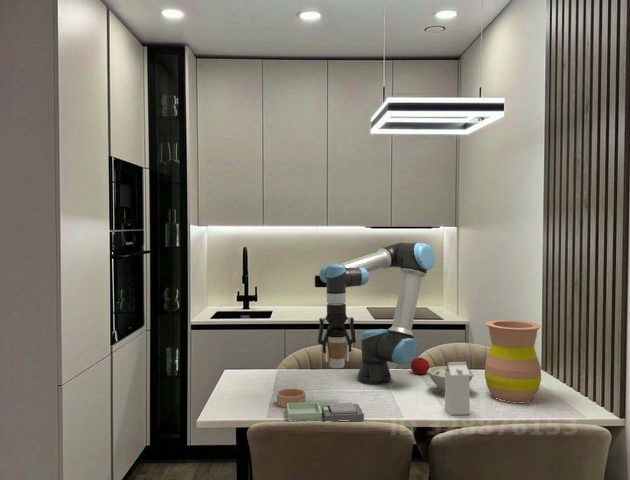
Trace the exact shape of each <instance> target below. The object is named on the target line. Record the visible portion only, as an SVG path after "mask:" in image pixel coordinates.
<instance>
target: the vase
mask: <svg viewBox="0 0 630 480" xmlns="http://www.w3.org/2000/svg"><path fill="white" fill-rule="evenodd" d="M485 325H486V326H487V327H488V330H489V331H488V332H489V337H490V341H491V346H490V349H489V352H488V355H487V357H486V360H485V364H484V378H485V382H486V386H487V389H488V390H489V392H490V394H491V395H492V397H493V396H494V397H495V398H494V397H493V398H494V399H496V398H498V399H501V400H505V401H510V402H527V401H530V402H531V400H532V401H533V400H534V398H535V397H536V395H537V394H538V392H539V390H540V389H539V388H540V385H541V381H542V370H541V364H540V362H539V358H538V355H537V352H536V349H535V344H536V340H537V335H538V330H539V329H540V328H541V327H542V325H540V324H539V323H536V322H530V321H525V320H513V319H512V320H509V319H508V320H507V319H502V320H501V319H500V320H499V319H498V320H489V321H486V322H485ZM498 399H497V400H498ZM510 402H509V403H510ZM527 403H528V402H527Z"/></svg>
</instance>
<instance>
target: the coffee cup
mask: <svg viewBox="0 0 630 480" xmlns="http://www.w3.org/2000/svg"><path fill="white" fill-rule="evenodd" d="M326 331H328V334H327V336H328V340H327V343H326V344H327V345H328V363H329V368H332V369H342V368H344V367H345V365H346V362H345V361H346V343H347V340H346V336H347V333H348V331H347V329H346V330H344V331H343V330H342V328H341V327H333V328H332V330H328V327H327V328H326ZM346 331H347V332H346Z"/></svg>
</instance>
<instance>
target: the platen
mask: <svg viewBox="0 0 630 480" xmlns="http://www.w3.org/2000/svg"><path fill="white" fill-rule="evenodd" d="M353 404H354V403H353V402H336V403H334V402H333V403H328V405H329V408H330V411H331V412H330V414H331V415H333V414H354V413H356V409H355V407H354V405H353Z"/></svg>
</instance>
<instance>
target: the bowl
mask: <svg viewBox="0 0 630 480" xmlns="http://www.w3.org/2000/svg"><path fill="white" fill-rule="evenodd" d="M447 366H448V365H443V366H442V365H441V366H433V367H429V369H428V371H427V374H428V376H429V377H430V380H431V381H432V382H433V383H434V384H435V386H437V387H438V388H439V389H441V391H442V392H441V393H442V394H443V395H445V370H446V368H447ZM468 371H469V374H470V381H471V380H472V379H473V377H474V371H473V370H471V369H468Z"/></svg>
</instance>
